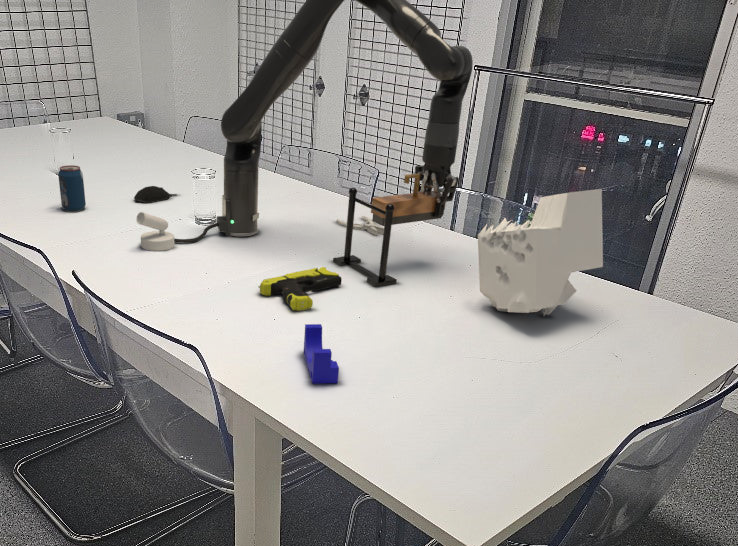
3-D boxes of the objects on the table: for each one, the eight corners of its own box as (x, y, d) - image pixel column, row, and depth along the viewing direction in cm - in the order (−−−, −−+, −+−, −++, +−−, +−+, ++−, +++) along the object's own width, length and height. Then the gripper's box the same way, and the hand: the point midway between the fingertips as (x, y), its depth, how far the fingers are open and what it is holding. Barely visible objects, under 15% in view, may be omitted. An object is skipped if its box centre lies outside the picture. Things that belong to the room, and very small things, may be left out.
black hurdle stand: (375, 287, 172) (383, 207, 163) (332, 261, 187) (338, 186, 177) (396, 283, 175) (406, 204, 165) (353, 258, 189) (359, 184, 179)
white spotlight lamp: (127, 209, 188) (158, 202, 194) (130, 246, 193) (159, 238, 199) (149, 216, 183) (180, 209, 189) (151, 254, 188) (181, 245, 194)
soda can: (89, 206, 223) (85, 165, 217) (82, 213, 217) (77, 171, 211) (66, 205, 224) (62, 164, 218) (58, 211, 218) (54, 169, 212)
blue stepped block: (337, 383, 132) (340, 352, 129) (312, 383, 131) (314, 353, 128) (326, 353, 142) (329, 324, 139) (303, 353, 142) (305, 324, 139)
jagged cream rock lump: (533, 326, 148) (528, 197, 143) (477, 323, 162) (470, 205, 157) (604, 311, 157) (602, 188, 151) (545, 309, 171) (541, 197, 165)
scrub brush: (382, 226, 174) (387, 180, 168) (369, 220, 177) (374, 175, 172) (443, 218, 181) (450, 173, 175) (430, 213, 185) (436, 169, 179)
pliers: (364, 213, 219) (395, 227, 208) (364, 218, 220) (394, 232, 209) (336, 216, 215) (366, 231, 204) (335, 222, 216) (365, 237, 204)
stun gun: (364, 285, 165) (323, 265, 176) (293, 301, 156) (254, 278, 167) (362, 298, 167) (322, 277, 177) (292, 314, 157) (254, 291, 168)
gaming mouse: (181, 197, 235) (181, 184, 233) (141, 204, 227) (140, 191, 225) (171, 193, 239) (170, 180, 237) (130, 199, 231) (129, 186, 229)
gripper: (409, 137, 177) (400, 208, 186) (447, 149, 166) (436, 224, 175) (434, 135, 180) (424, 205, 189) (474, 146, 169) (461, 220, 178)
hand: (430, 214), depth 182 cm, fingers closed on scrub brush, 5 cm apart
